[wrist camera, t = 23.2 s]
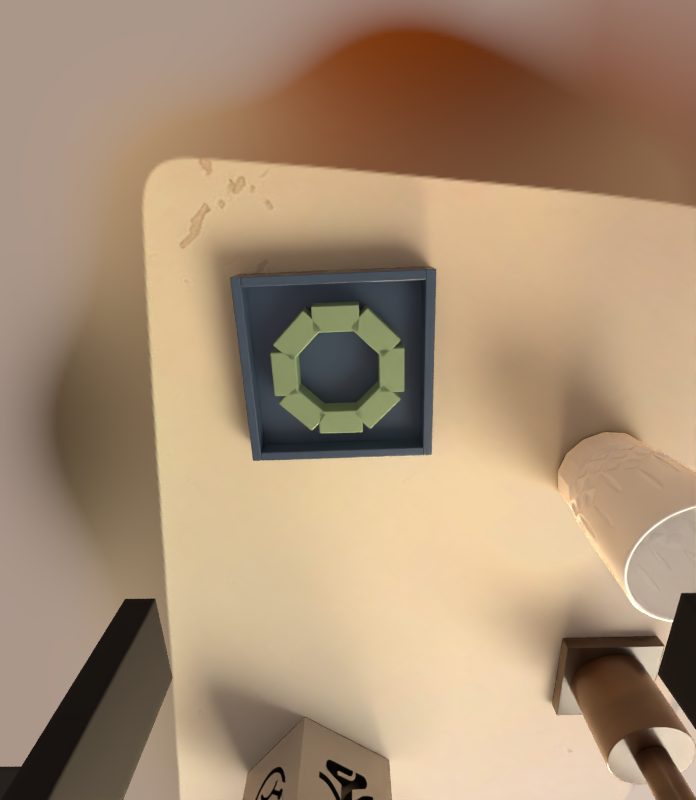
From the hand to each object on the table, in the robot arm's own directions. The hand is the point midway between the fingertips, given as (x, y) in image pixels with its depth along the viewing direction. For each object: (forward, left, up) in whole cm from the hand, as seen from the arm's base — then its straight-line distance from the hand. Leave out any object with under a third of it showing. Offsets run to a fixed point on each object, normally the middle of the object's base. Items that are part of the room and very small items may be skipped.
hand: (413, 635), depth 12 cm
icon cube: (+6, +40, -21) cm, 45 cm away
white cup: (-17, +8, -21) cm, 28 cm away
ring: (+2, -1, -20) cm, 21 cm away
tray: (+2, -1, -21) cm, 21 cm away
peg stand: (-20, +28, -21) cm, 40 cm away
